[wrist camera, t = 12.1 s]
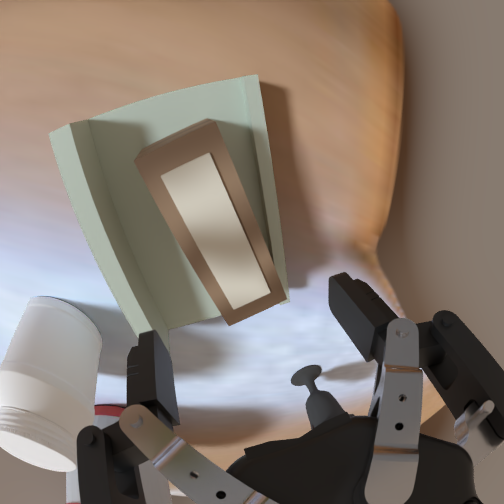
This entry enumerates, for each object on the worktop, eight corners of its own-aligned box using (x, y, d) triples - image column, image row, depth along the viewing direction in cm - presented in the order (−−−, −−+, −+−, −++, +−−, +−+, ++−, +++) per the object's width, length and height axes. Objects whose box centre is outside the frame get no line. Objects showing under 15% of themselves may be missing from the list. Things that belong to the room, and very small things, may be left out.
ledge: (279, 284, 30) (301, 322, 25) (154, 319, 28) (154, 364, 23) (246, 77, 19) (271, 69, 14) (78, 124, 17) (48, 133, 12)
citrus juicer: (45, 409, 31) (38, 518, 15) (117, 385, 32) (124, 529, 15) (108, 446, 40) (115, 537, 23) (180, 428, 40) (203, 535, 23)
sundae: (293, 363, 38) (338, 454, 25) (332, 359, 40) (379, 439, 27) (278, 390, 40) (314, 473, 28) (315, 385, 43) (354, 460, 30)
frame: (141, 149, 18) (133, 161, 14) (206, 118, 18) (216, 121, 14) (219, 292, 26) (229, 327, 22) (269, 268, 26) (288, 300, 22)
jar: (37, 281, 22) (-15, 408, 10) (113, 328, 27) (104, 460, 15) (13, 340, 24) (-18, 444, 12) (75, 376, 29) (66, 480, 17)
